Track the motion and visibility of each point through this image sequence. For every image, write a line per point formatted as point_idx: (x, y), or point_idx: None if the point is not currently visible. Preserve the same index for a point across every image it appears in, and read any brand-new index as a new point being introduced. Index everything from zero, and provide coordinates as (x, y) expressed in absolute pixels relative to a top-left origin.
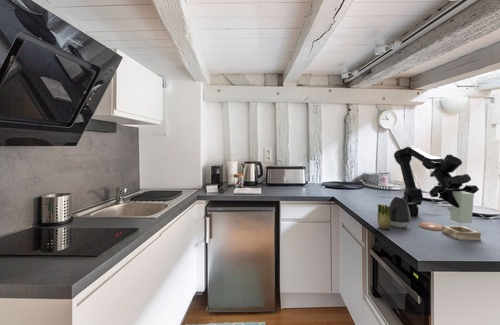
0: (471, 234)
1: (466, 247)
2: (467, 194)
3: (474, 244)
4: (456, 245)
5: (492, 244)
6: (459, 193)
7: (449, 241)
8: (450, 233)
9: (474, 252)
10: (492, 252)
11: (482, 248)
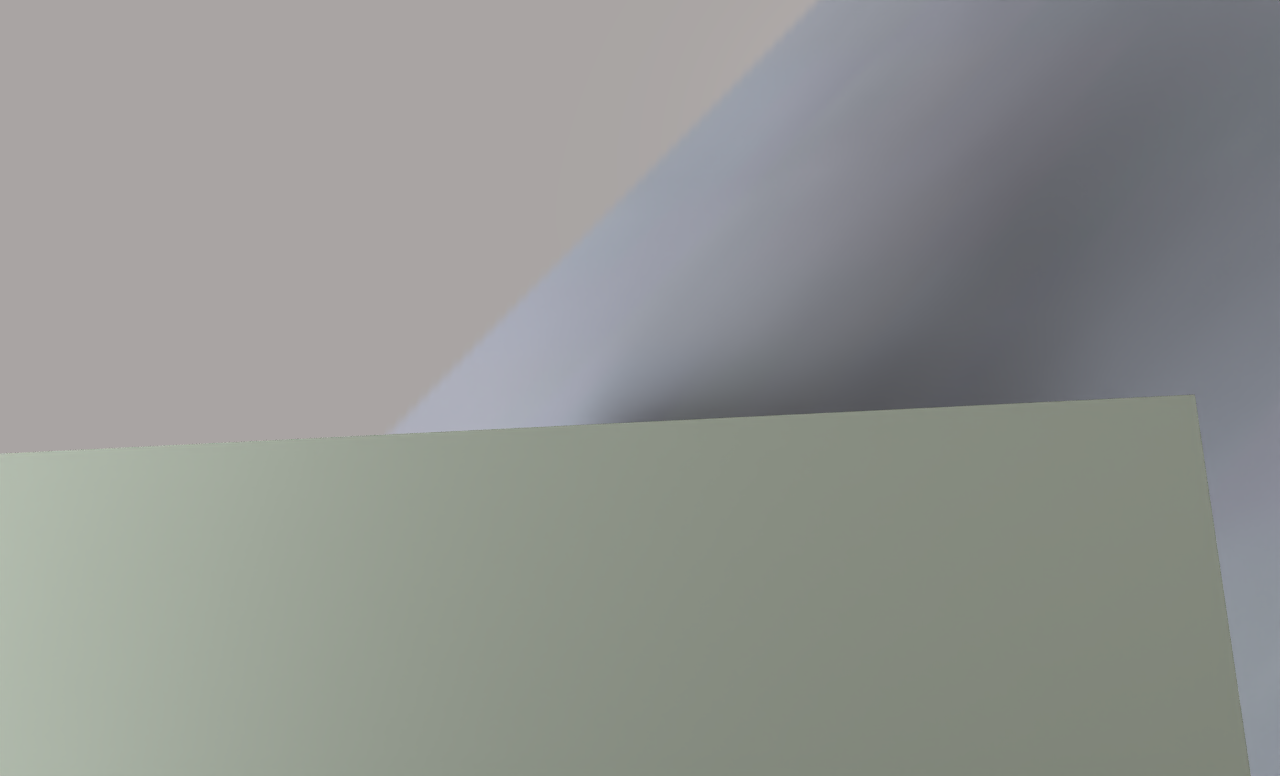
0: None
1: (1091, 183)
2: (531, 445)
3: (844, 312)
4: (1209, 257)
5: (544, 323)
6: (1238, 765)
7: (1211, 436)
8: None
9: (1111, 9)
10: (828, 31)
11: (852, 160)
